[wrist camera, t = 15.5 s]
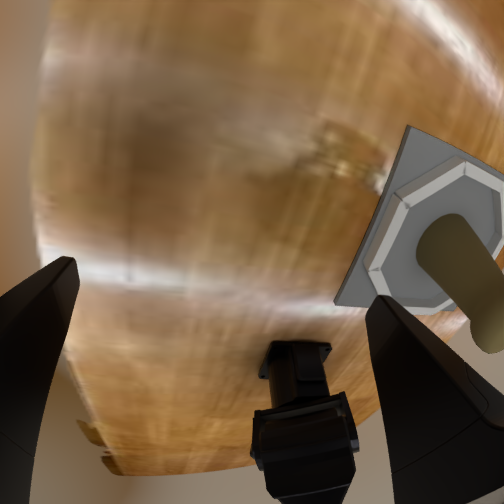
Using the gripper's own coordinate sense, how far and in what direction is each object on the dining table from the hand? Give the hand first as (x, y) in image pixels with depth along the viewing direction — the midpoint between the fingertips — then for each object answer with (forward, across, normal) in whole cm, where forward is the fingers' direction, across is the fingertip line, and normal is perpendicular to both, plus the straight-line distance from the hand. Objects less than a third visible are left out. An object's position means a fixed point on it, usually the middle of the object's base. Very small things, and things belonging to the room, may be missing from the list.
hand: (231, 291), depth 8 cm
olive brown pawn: (+12, -19, +3) cm, 22 cm away
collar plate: (+12, -19, +3) cm, 23 cm away
